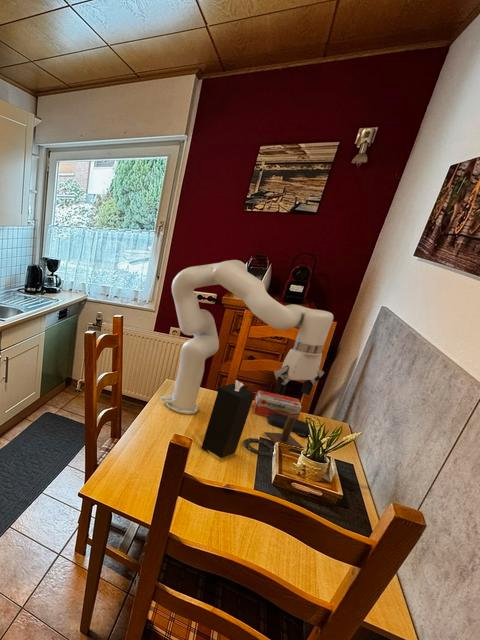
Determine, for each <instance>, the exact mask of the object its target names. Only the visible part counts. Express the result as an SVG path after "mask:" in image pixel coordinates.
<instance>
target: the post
mask: <svg viewBox="0 0 480 640" xmlns="http://www.w3.org/2000/svg"><path fill="white" fill-rule="evenodd" d="M296 418H297V417H296V416H293V415H289V416H288V418H287V421H286V424H285V426H284V429H282V431H281V432H270V431H268V432H267V431H265V432H264V433H263V434H264V435H265V436H266V437H267V438H268V439H269V440H270V441H271V442H272V443H273V444H275V443H276V442H280V443H283V444H286V445H290V446H295V447H299V448H303V449H304V448H305V447H304V446H303V445H302V444H301V443H300V442H299V441H297V440H296V439H295V438H294V437H293V436H292V435H291V433H292V432H291V431H292V428H293V426H294V423H295V421H296ZM299 448H298V449H299Z"/></svg>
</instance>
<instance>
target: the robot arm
mask: <svg viewBox="0 0 480 640" xmlns="http://www.w3.org/2000/svg"><path fill="white" fill-rule="evenodd" d="M216 285H220V286H222V287H223V288H224V289H226V290H227V291H229V292H230V293H231V294H233V295H235V297H237V298H239V299H240V300H241V301H243V303H244V304H245V305H246V307H247V308H248V309H249V310H250V311H251V313H252V314H253V315H254V316H256V317H257V318H258V319H260V320H261V321H262V322H264V323H265V324H267V326H269V327H271V328H273V329H275V330H278V331H287V330H291V329H293V328H299V329H298V331H297V336H296V338H295V342H294V344H293V348H290V349H289V351H288V352H287V354H286V356H285V358H284V360H283V362H282V365H281V368H278V369H276V370H274V372H273V373H274V374H273V375H274V379H275V380H276V382H277V384H276V387H275V390H274V392H275V394H278V395H283V396H285V393H286V389H287V386H288V385H287V384H288V383H289V382H290V381H303V383H302V387H301V389H300V392H301V393H303V394H305V395H306V396H310V395H311V393H312V389H313V387H314V385H316V384H317V382H318V381H319V380H320V379H321V378H322V376H323V375H324V374H325V371H323V370H322V369H320V367H321V362H322V357H323V356H322V355H323V353H322V351H323V349H324V348H325V343H326V340H327V338H328V335H329V333H330V329H331V328H332V327H331V326H332V324H333V321H334V313H332V312H330V311H327V310H323V309H313V308H309V307H306V306H303V305H301V304H293V303H292V304H287V305H283V304H282V303H280V302H279V301H277V300H276V299H274V298H273V297H272V296H271V295H270V294H269V293H268V292H267V290H266V285H265V283H264V282H263V280H261V279H259V278H258V277H256V276H255V275H254V274H252V273H250V272H248V268H247V265H246V264H245V262H243V261H241V260H238V259H230V260H224V261H221V262H215V263H209V264H202V265H194V266H189V267H186V268H184V269H182V270H181V271H179V272H178V273H177V274H176V275H175V277H174V278H173V279H172V283H171V294H172V298H173V301H174V306H175V311H176V316H177V321H178V326H179V329H180V332H181V333H182V334H184V335H186V336H193V337H192V338H190V339H188V340H187V341H185V342H184V343H183V345H182V346H181V348H180V357H179V358H180V359H179V364H178V369H177V373H176V377H175V381H174V382H175V383H174V386H173V390H172V393H170V394H169V395H168V396H164V395H163V396H162V395H161V396H159V401H161V402H164V404H166V406H167V407H168V408H169V409H170V410H172V411H174V412H176V413H179V414H182V415H183V414H184V415H194V414H196V413H198V411H199V407H198V405H197V404H196V402H197V399H198V395H199V392H200V388H201V386H202V385H201V384H202V381H203V376H204V373H205V363H206V359H209V358H210V357H213V356H214V355H215V354H216V353H218V351H219V349H220V340H219V336H218V331H217V326H216V322H215V318H214V316H213V314H212V313H211V312H210V311H209V310H207V309H203V308H200V304H199V299H198V297H197V294H196V293H195V289H198V288H204V287H209V286H216Z"/></svg>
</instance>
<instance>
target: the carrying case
mask: <svg viewBox="0 0 480 640" xmlns="http://www.w3.org/2000/svg"><path fill="white" fill-rule="evenodd" d="M287 418H288V417H286V416H283V415H280V414H276V413H273V414H270V415H269V417H268V419H267V424H268V425H270V426H272V427H275V428H278V429H281V430H283V429H284V426H285V424H286V421H287ZM308 423H309V422H306V421H302V420H300V419H297V420H296V421H295V423H294V426H293V428H292V431H291V433H294V434H295V435H297V436H301V437H304V438H309V437H308V435H309V427H308Z"/></svg>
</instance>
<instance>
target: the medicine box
mask: <svg viewBox="0 0 480 640" xmlns="http://www.w3.org/2000/svg"><path fill="white" fill-rule="evenodd" d="M302 409H303V407H302V404H301V400H300V398H296V397H292V396H287V395H279V394H278V393H274V392H269V391H266V390H265V391H264V390H258V391H257V394H256V395H255V397H254V401H253V413H254V414H256V415H259V416H264V417H268V418H269V415H270V414H273V413H276V414H280V415H283V416H286V417H288V416H289V415H293V416H296V417H297V418H296V420H299V417H300V414H301V412H302Z"/></svg>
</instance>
